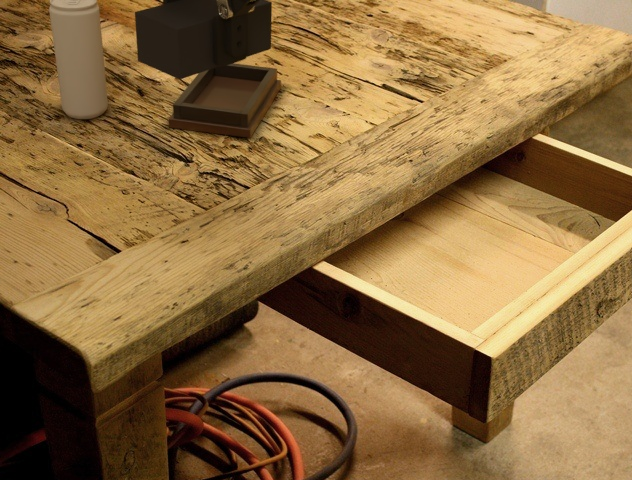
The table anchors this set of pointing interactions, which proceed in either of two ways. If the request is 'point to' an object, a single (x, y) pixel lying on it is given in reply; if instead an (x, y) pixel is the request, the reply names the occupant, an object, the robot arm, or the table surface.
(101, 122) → the table surface
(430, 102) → the table surface
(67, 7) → the beverage can
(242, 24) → the robot arm
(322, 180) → the table surface
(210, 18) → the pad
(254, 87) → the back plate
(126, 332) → the table surface
